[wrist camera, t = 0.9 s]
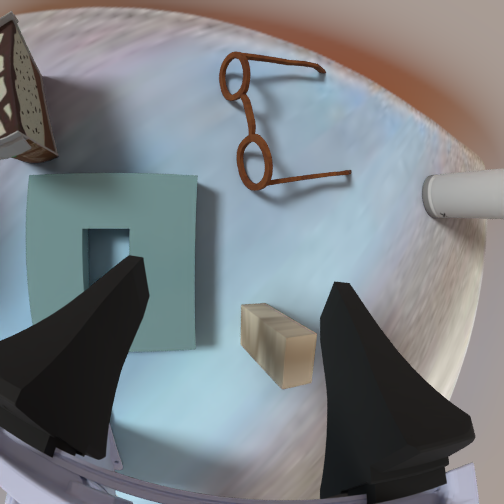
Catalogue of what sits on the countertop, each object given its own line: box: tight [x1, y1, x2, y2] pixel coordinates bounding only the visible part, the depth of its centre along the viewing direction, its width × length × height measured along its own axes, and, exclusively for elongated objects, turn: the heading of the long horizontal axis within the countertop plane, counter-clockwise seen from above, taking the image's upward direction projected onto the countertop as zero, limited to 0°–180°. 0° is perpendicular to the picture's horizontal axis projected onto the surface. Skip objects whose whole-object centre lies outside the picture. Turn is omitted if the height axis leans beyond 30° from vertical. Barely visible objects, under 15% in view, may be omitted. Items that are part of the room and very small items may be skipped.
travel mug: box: [422, 169, 504, 219], centre depth 27 cm, size 6×7×20 cm
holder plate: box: [26, 173, 198, 352], centre depth 21 cm, size 14×14×2 cm
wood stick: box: [240, 303, 317, 389], centre depth 23 cm, size 4×2×9 cm, turn 178°
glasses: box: [219, 52, 351, 191], centre depth 25 cm, size 13×13×5 cm
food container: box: [0, 11, 59, 163], centre depth 13 cm, size 12×6×10 cm, turn 23°
